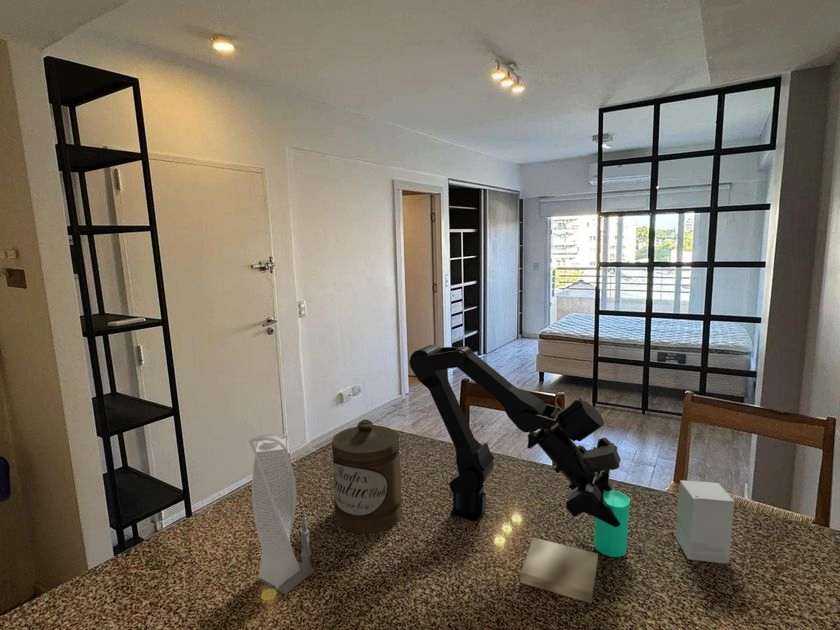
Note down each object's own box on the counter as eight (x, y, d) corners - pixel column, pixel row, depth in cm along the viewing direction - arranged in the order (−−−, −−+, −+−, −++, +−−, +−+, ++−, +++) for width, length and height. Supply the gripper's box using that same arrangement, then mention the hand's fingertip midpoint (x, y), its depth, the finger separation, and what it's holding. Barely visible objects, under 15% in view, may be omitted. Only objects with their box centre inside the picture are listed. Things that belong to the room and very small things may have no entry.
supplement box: (730, 564, 89) (736, 502, 87) (686, 560, 90) (691, 498, 88) (714, 540, 96) (719, 482, 94) (674, 536, 97) (678, 478, 95)
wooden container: (322, 525, 102) (317, 428, 99) (356, 491, 116) (353, 405, 113) (383, 540, 97) (381, 438, 94) (412, 503, 111) (410, 413, 107)
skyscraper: (278, 600, 81) (268, 445, 77) (247, 582, 85) (236, 434, 81) (314, 571, 88) (306, 427, 84) (283, 556, 92) (275, 419, 88)
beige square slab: (520, 582, 85) (520, 572, 84) (533, 546, 94) (533, 537, 94) (591, 603, 80) (592, 592, 79) (597, 563, 89) (597, 553, 89)
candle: (625, 541, 95) (629, 485, 93) (627, 560, 90) (631, 501, 88) (593, 535, 97) (596, 480, 95) (593, 553, 92) (597, 495, 90)
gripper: (588, 449, 83) (653, 524, 80) (601, 415, 100) (655, 476, 97) (541, 481, 88) (601, 552, 85) (561, 443, 105) (611, 502, 101)
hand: (619, 518), depth 92 cm, fingers closed on candle, 5 cm apart
